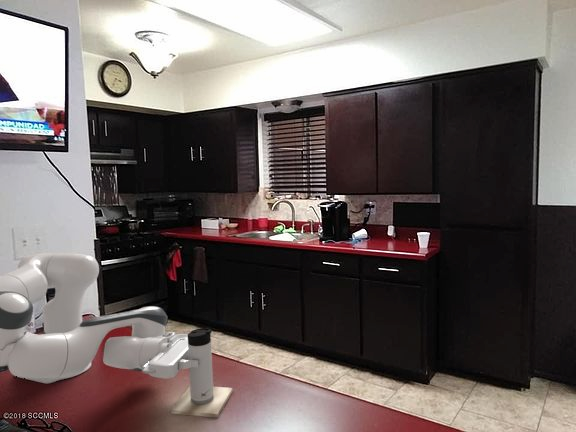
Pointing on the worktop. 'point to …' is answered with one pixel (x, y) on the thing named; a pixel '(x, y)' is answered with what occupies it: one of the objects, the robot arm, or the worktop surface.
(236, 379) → the worktop surface
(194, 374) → the travel mug
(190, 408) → the coaster board
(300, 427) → the worktop surface
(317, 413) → the worktop surface
